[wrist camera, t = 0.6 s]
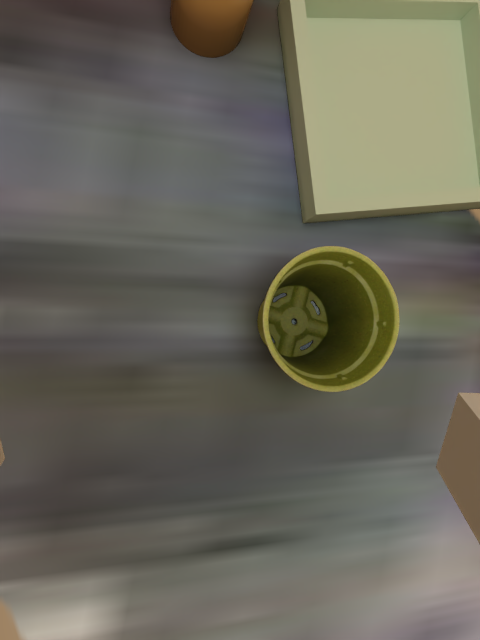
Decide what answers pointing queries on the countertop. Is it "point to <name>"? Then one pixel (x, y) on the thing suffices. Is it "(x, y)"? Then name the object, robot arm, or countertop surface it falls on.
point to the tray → (383, 105)
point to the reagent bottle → (209, 24)
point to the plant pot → (330, 319)
